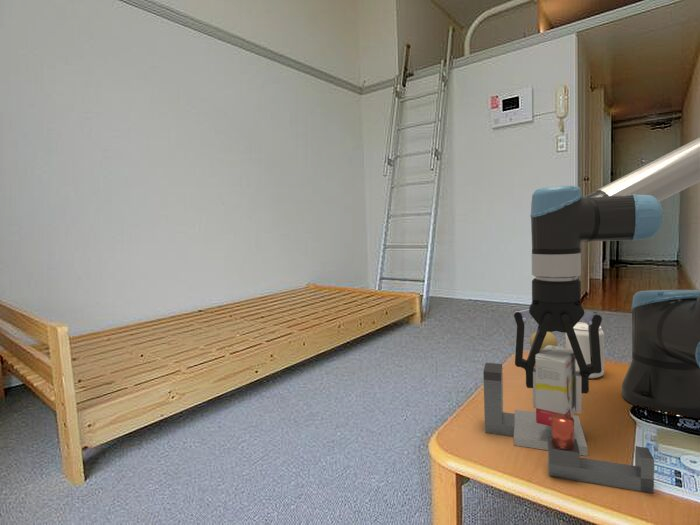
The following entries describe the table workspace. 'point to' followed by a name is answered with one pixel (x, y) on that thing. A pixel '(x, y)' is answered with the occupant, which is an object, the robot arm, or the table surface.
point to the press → (517, 416)
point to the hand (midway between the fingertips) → (556, 407)
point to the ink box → (554, 383)
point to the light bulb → (545, 340)
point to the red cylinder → (563, 442)
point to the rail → (612, 472)
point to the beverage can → (587, 346)
